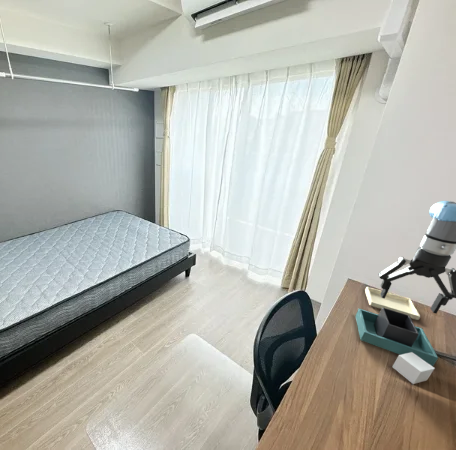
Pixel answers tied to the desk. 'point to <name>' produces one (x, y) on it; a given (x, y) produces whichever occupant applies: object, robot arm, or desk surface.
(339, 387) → the desk surface
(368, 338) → the tray
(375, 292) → the tray
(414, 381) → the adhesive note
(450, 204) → the robot arm
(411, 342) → the small bin
